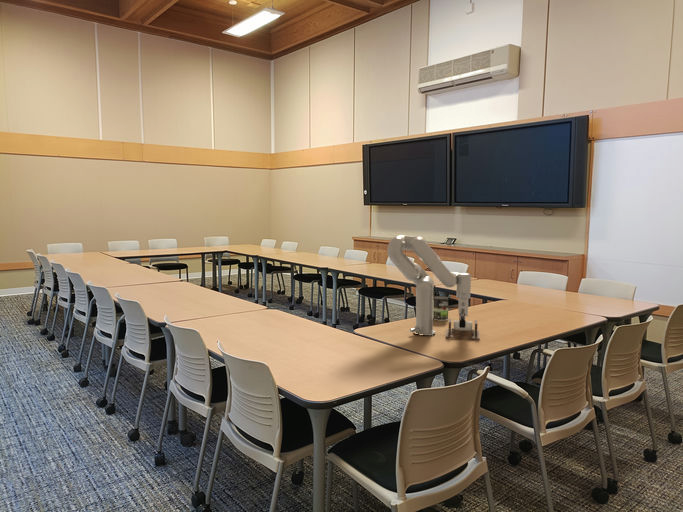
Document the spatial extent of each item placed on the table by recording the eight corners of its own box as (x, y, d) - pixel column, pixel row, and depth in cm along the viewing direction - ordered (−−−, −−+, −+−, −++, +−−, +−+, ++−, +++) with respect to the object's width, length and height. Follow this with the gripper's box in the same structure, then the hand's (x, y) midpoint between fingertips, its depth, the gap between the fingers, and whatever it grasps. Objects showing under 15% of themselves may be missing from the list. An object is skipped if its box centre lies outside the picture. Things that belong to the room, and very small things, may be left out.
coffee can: (451, 320, 303) (451, 298, 301) (437, 321, 299) (438, 299, 297) (442, 316, 312) (442, 295, 310) (428, 318, 308) (429, 296, 307)
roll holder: (445, 338, 262) (446, 324, 261) (446, 330, 277) (446, 317, 276) (479, 340, 258) (480, 325, 257) (478, 332, 273) (479, 318, 272)
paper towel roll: (453, 331, 266) (453, 322, 265) (453, 328, 271) (453, 319, 270) (472, 332, 263) (472, 323, 263) (472, 329, 269) (472, 320, 268)
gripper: (470, 298, 256) (469, 329, 258) (470, 292, 272) (468, 322, 274) (456, 298, 257) (455, 328, 259) (456, 292, 274) (455, 321, 276)
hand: (462, 325), depth 267 cm, fingers open, 9 cm apart
